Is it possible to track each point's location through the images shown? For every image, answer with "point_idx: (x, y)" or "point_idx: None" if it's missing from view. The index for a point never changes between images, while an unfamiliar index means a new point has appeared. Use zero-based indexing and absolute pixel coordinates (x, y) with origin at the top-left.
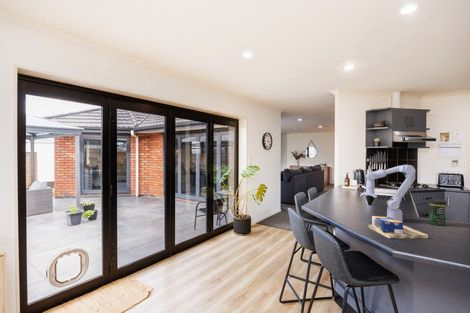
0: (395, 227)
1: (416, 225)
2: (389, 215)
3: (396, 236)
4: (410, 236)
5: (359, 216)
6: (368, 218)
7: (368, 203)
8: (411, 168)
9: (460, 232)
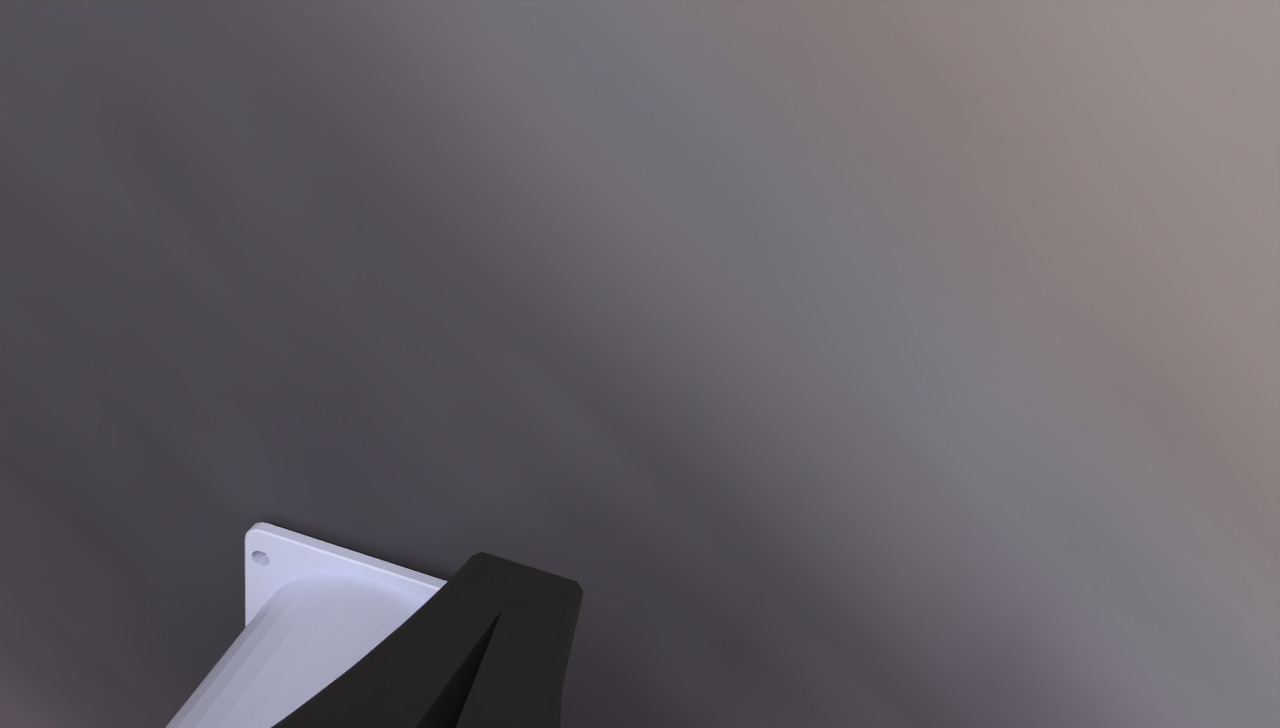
0: None
1: (38, 717)
2: (261, 673)
3: None
4: None
5: (1065, 169)
6: (706, 262)
7: (467, 630)
8: None
9: None
